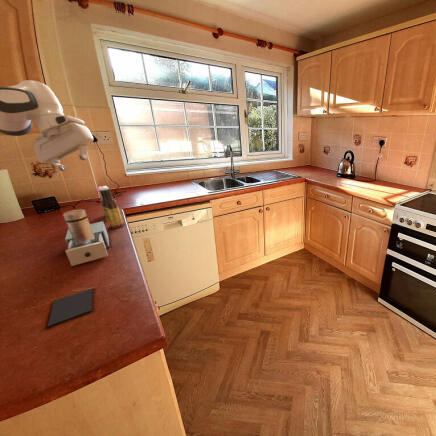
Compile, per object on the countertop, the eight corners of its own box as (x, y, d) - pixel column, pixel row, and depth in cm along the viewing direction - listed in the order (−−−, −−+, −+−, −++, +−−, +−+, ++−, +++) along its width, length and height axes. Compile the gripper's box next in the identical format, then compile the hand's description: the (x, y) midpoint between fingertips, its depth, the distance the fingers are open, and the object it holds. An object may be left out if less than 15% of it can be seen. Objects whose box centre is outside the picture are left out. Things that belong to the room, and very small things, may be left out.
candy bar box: (106, 214, 142) (96, 186, 135) (116, 212, 145) (107, 185, 138) (107, 219, 134) (97, 190, 127) (118, 217, 136) (109, 188, 130)
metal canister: (79, 258, 92) (61, 216, 85) (80, 251, 96) (63, 211, 90) (99, 252, 95) (84, 212, 89) (99, 246, 100) (84, 208, 93)
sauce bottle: (108, 226, 124) (95, 188, 117) (123, 223, 128) (111, 186, 120) (110, 230, 120) (96, 191, 112) (124, 226, 123) (112, 188, 116)
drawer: (108, 257, 94) (103, 243, 91) (71, 267, 88) (64, 252, 85) (107, 244, 104) (102, 231, 102) (73, 252, 98) (68, 239, 96)
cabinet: (109, 247, 103) (103, 230, 100) (72, 256, 97) (65, 239, 94) (108, 236, 113) (103, 221, 110) (74, 244, 106) (68, 228, 104)
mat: (48, 327, 63) (47, 326, 63) (54, 302, 72) (53, 301, 72) (91, 311, 68) (91, 310, 68) (92, 289, 77) (91, 288, 77)
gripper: (21, 139, 84) (40, 176, 85) (70, 113, 82) (88, 151, 83) (41, 142, 90) (59, 177, 91) (87, 118, 88) (104, 154, 89)
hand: (73, 164), depth 87 cm, fingers open, 8 cm apart
